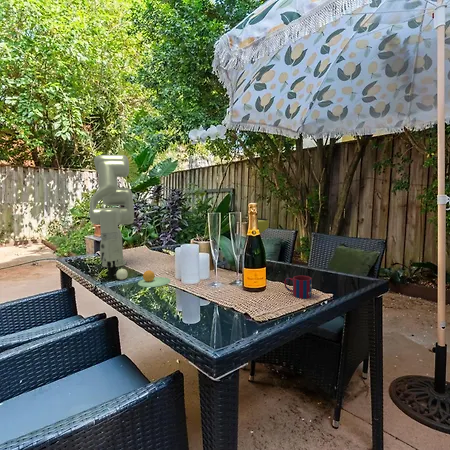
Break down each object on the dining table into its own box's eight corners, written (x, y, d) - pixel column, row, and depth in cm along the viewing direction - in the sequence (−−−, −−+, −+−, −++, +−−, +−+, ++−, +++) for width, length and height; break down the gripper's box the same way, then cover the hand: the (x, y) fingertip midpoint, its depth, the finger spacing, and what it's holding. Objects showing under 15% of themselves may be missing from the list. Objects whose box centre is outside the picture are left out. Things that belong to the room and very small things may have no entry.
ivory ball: (122, 274, 137) (121, 283, 139) (130, 269, 141) (129, 278, 143) (114, 269, 139) (113, 278, 141) (122, 265, 143) (121, 274, 145)
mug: (308, 300, 110) (308, 281, 109) (281, 295, 116) (281, 277, 115) (313, 294, 116) (314, 276, 115) (288, 290, 121) (288, 273, 120)
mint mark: (131, 285, 132) (131, 284, 132) (150, 276, 145) (150, 276, 145) (159, 288, 127) (159, 287, 127) (176, 279, 140) (176, 278, 140)
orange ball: (152, 275, 133) (148, 285, 135) (158, 272, 138) (154, 281, 139) (143, 269, 135) (139, 279, 136) (149, 267, 139) (145, 276, 141)
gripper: (104, 238, 134) (107, 280, 136) (127, 234, 148) (129, 271, 150) (91, 238, 137) (94, 278, 139) (114, 233, 150) (116, 270, 153)
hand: (112, 274), depth 144 cm, fingers closed
